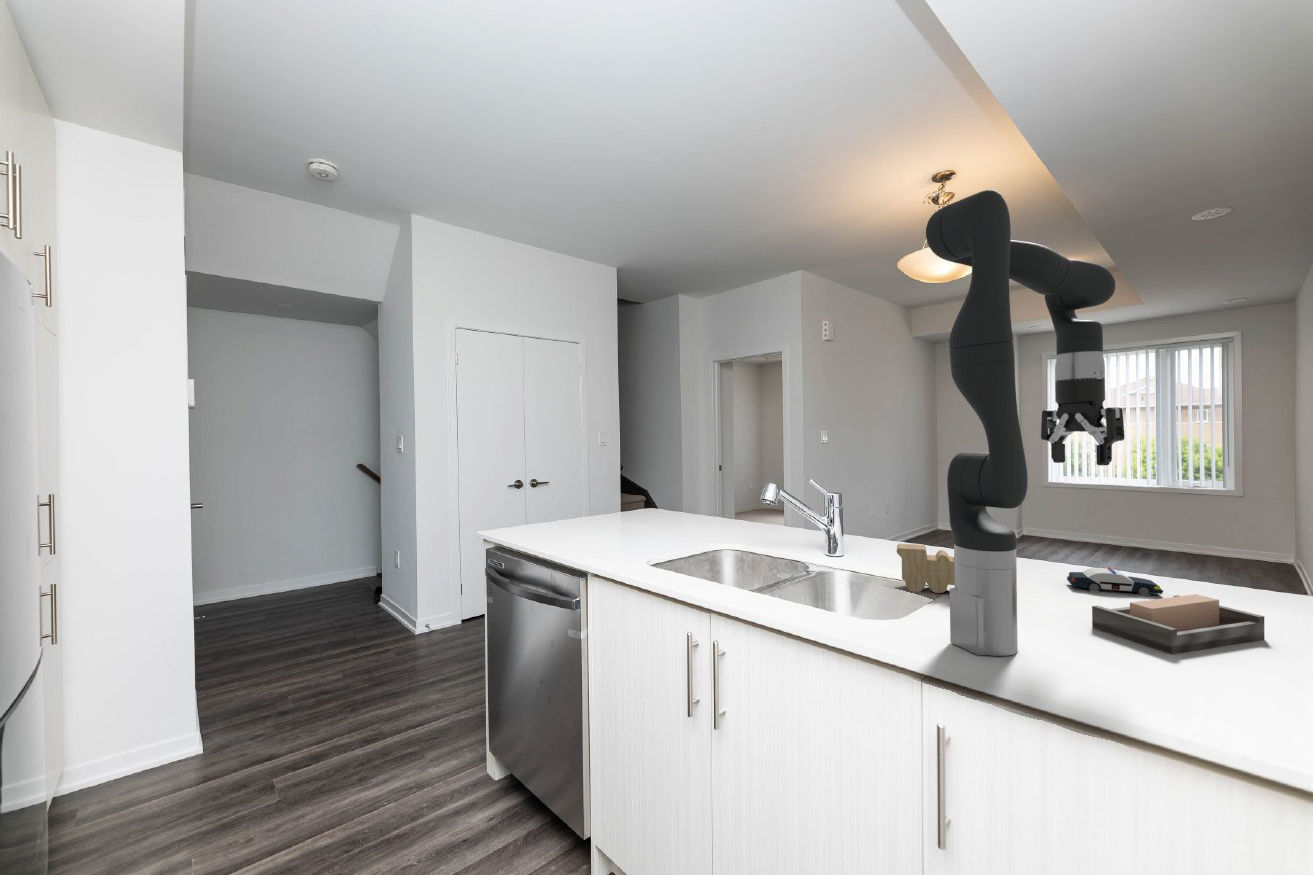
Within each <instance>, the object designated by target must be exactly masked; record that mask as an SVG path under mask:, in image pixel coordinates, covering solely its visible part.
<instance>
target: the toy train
mask: <svg viewBox="0 0 1313 875" xmlns="http://www.w3.org/2000/svg"><path fill="white" fill-rule="evenodd" d="M896 553H897V555H898V556H899V557H900V558H901V579H902V581H904V582H905V586H906V588H907V590H909V591H911V592H912V593H919V592H922V590H924V589H925V588H926V585H927V586H928V587H929V589H930V590H931V591H932V592H934V593H936V594H942V593H945V592H946V590H948V587H949V586H953V587H955V579H954V556H951V555H949V554H948V553H947V552H946V551H945V550H943V549H939V550H938V551H937V552H936V554H935V555H934V554H928V553H927V547H926V545H925V544H916V543H915V544H913V543H898V544H897V546H896Z"/></svg>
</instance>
